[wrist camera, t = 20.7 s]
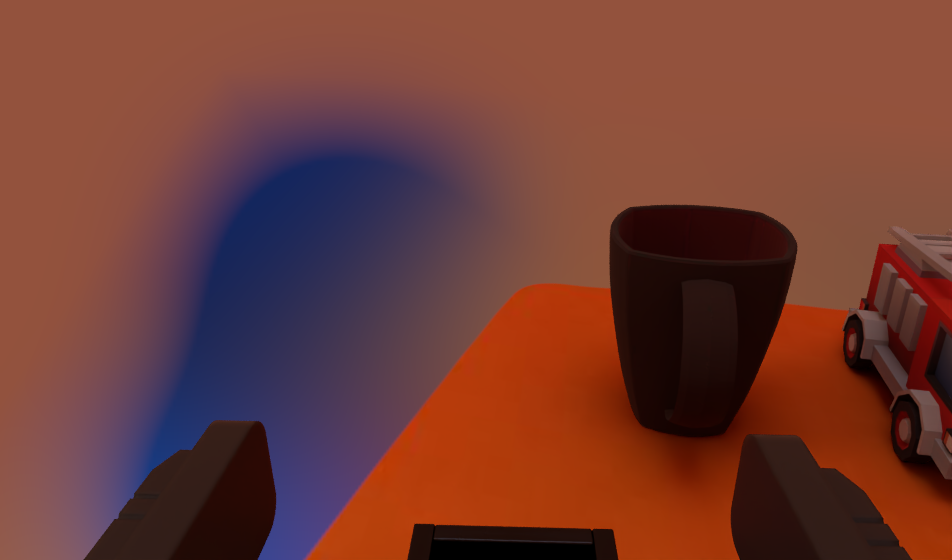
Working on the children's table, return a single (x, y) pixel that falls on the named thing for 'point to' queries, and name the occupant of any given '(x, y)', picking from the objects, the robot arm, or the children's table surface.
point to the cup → (695, 309)
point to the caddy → (510, 543)
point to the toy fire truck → (910, 342)
